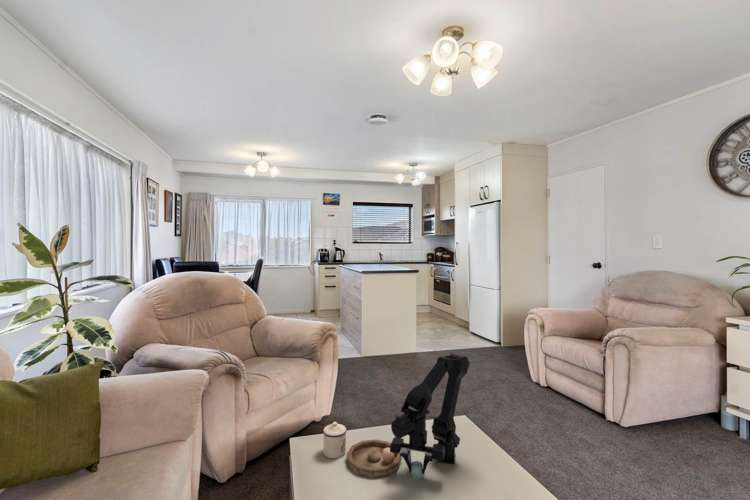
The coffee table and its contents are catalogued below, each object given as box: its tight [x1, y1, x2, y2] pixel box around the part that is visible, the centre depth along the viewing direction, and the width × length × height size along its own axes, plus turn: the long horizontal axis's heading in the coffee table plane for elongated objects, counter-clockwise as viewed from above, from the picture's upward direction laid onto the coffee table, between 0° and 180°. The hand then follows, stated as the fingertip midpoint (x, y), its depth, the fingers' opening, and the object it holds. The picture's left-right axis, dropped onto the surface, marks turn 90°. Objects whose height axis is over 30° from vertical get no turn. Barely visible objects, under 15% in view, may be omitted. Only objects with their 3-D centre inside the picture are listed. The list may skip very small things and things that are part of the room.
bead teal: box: [410, 460, 424, 480], centre depth 124 cm, size 4×4×4 cm
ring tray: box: [346, 439, 403, 479], centre depth 133 cm, size 20×20×3 cm
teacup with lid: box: [322, 421, 347, 459], centre depth 140 cm, size 12×9×12 cm
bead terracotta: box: [383, 448, 394, 464], centre depth 131 cm, size 4×4×4 cm
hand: (417, 472), depth 124 cm, fingers closed on bead teal, 4 cm apart
